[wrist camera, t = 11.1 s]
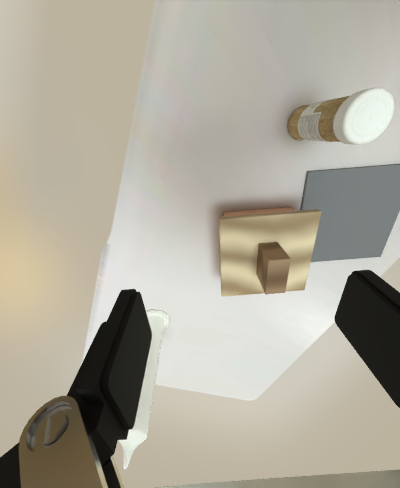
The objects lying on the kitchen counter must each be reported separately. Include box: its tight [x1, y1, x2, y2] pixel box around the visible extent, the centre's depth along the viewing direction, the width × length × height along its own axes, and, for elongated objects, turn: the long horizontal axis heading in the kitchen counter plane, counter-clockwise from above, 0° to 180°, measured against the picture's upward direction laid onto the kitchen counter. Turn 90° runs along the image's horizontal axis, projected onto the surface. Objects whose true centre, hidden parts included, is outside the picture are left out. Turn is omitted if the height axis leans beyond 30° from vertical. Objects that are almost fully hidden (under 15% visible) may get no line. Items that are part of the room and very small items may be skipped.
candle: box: [119, 310, 170, 469], centre depth 38 cm, size 7×7×25 cm
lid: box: [219, 209, 322, 296], centre depth 32 cm, size 15×15×6 cm
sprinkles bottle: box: [288, 88, 394, 144], centre depth 25 cm, size 5×5×13 cm
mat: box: [300, 164, 400, 262], centre depth 38 cm, size 18×18×1 cm
